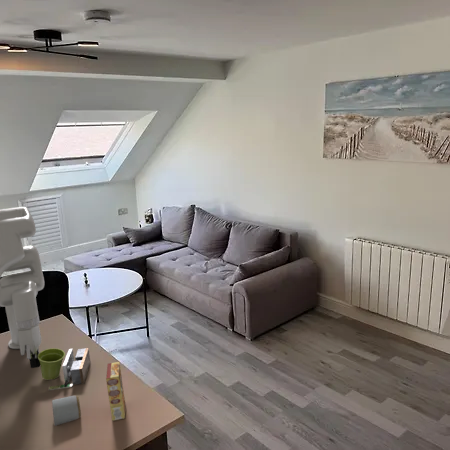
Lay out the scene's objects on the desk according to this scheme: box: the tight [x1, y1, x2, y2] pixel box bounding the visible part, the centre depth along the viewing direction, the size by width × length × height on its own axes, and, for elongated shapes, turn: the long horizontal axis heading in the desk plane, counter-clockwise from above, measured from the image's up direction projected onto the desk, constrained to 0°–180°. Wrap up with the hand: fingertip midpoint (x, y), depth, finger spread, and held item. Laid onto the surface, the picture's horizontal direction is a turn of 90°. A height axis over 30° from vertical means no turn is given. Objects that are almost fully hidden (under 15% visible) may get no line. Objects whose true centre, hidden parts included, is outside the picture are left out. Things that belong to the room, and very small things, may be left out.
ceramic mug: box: [51, 395, 82, 427], centre depth 133 cm, size 11×8×8 cm
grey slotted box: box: [48, 347, 91, 391], centre depth 156 cm, size 12×16×6 cm
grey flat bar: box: [61, 348, 75, 386], centre depth 156 cm, size 4×14×7 cm, turn 9°
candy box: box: [105, 361, 126, 422], centre depth 134 cm, size 9×4×15 cm, turn 13°
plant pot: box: [38, 347, 66, 381], centre depth 156 cm, size 9×9×9 cm
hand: (35, 366), depth 155 cm, fingers closed
